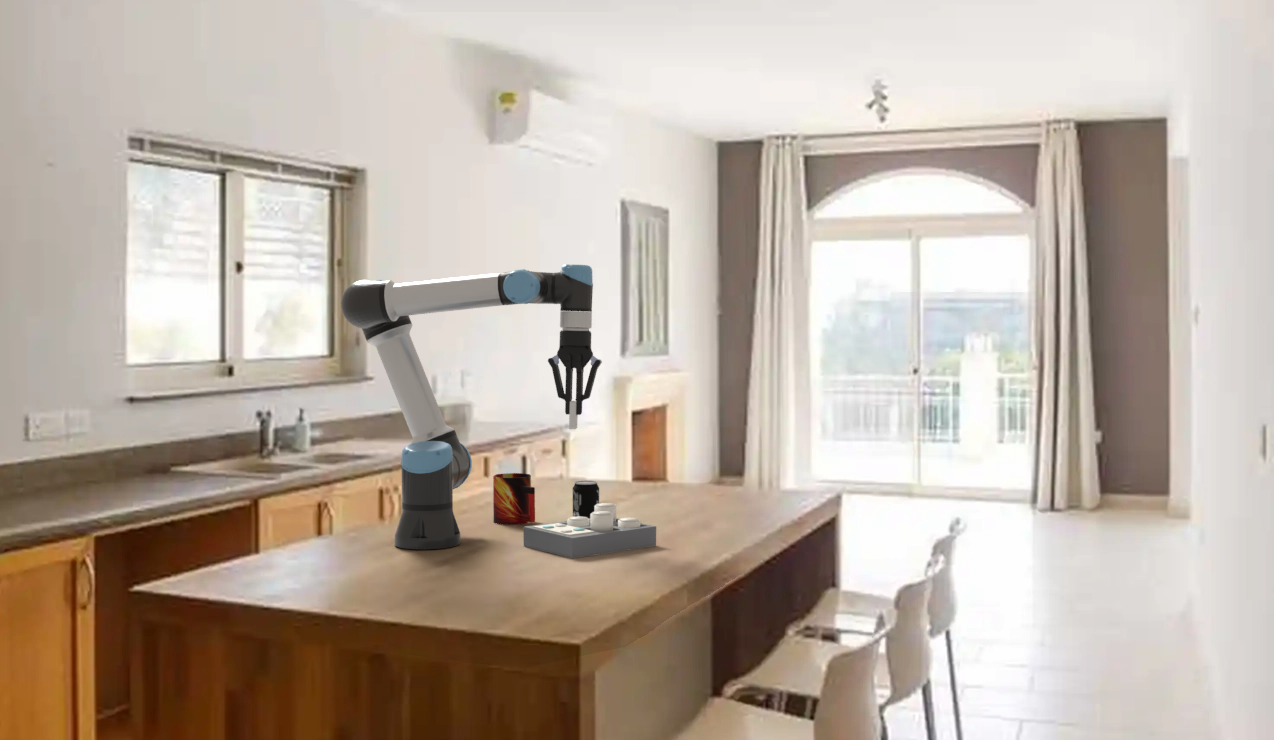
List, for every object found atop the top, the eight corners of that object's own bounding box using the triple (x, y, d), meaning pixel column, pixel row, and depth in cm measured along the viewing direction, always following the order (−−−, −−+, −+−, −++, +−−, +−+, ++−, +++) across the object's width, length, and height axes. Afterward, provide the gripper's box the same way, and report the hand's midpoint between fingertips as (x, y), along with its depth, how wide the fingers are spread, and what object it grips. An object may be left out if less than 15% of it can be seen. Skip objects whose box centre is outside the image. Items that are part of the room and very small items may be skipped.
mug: (533, 527, 320) (533, 479, 319) (486, 523, 326) (486, 476, 325) (552, 521, 328) (551, 475, 328) (505, 517, 334) (505, 472, 334)
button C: (599, 538, 287) (599, 515, 286) (585, 535, 291) (585, 512, 291) (617, 535, 290) (617, 512, 290) (603, 532, 294) (603, 510, 294)
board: (572, 558, 279) (572, 535, 279) (523, 546, 294) (523, 524, 294) (656, 545, 294) (656, 524, 294) (605, 534, 309) (605, 514, 309)
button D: (627, 544, 292) (627, 521, 292) (613, 541, 296) (613, 518, 296) (644, 542, 295) (644, 519, 295) (630, 539, 299) (630, 516, 299)
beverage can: (595, 532, 311) (595, 484, 311) (569, 532, 313) (569, 483, 312) (601, 528, 318) (601, 480, 317) (576, 527, 319) (576, 479, 318)
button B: (603, 529, 299) (603, 506, 299) (590, 526, 303) (589, 504, 303) (620, 526, 302) (620, 504, 302) (607, 524, 306) (607, 502, 306)
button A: (575, 543, 294) (575, 520, 294) (562, 540, 298) (562, 517, 298) (593, 540, 297) (593, 518, 297) (580, 537, 301) (580, 515, 301)
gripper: (605, 330, 306) (602, 428, 307) (551, 328, 307) (549, 425, 309) (600, 330, 298) (597, 430, 300) (545, 329, 300) (543, 428, 301)
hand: (573, 428), depth 304 cm, fingers closed
